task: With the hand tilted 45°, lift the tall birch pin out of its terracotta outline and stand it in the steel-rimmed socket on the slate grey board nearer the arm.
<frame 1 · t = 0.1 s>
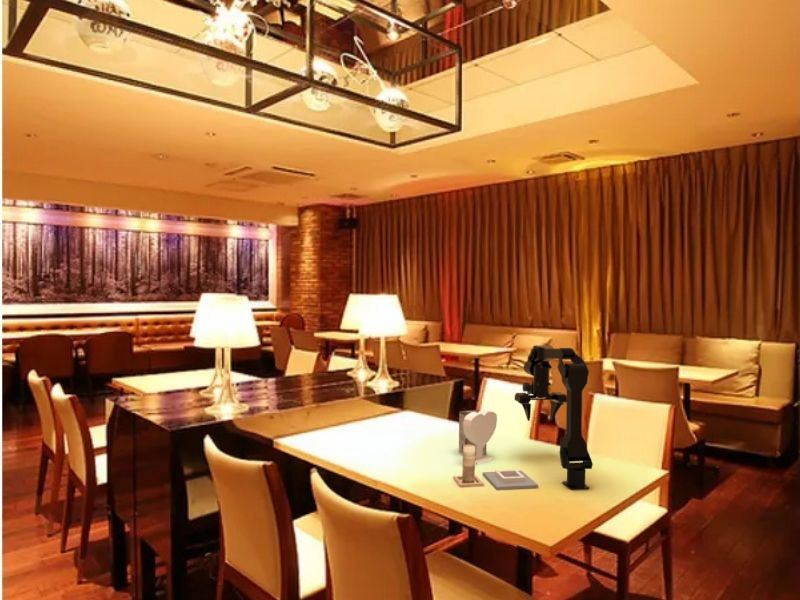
hand: (540, 420, 215), 15 cm above the table, tool pointing down, fingers open, 9 cm apart
coffee box: (472, 453, 221), on the table
layout board: (509, 481, 191), on the table
birch pin: (468, 482, 189), resting in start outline
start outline: (468, 482, 189), on the table
heart sculpture: (479, 460, 213), on the table
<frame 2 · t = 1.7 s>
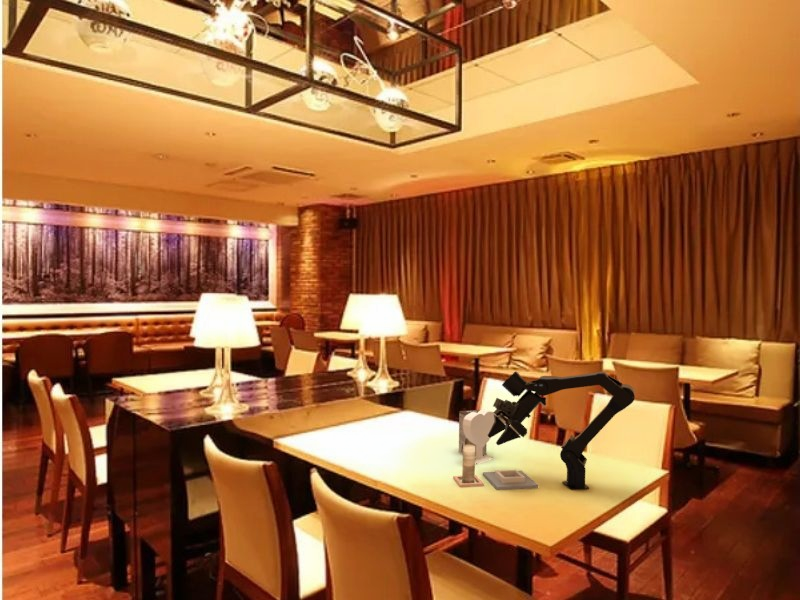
hand: (492, 440, 191), 13 cm above the table, tool tilted 45°, fingers open, 9 cm apart
nothing on the table moved.
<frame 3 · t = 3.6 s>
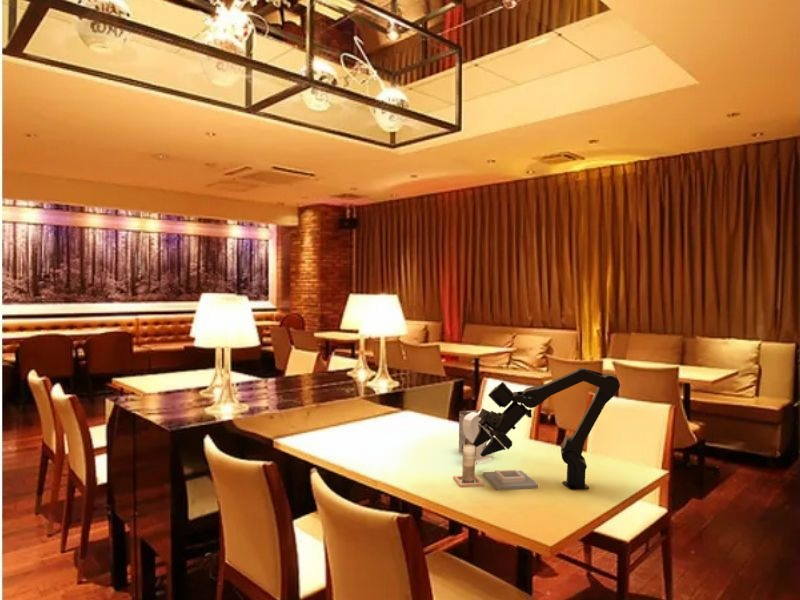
hand: (476, 451, 190), 10 cm above the table, tool tilted 45°, fingers open, 9 cm apart
nothing on the table moved.
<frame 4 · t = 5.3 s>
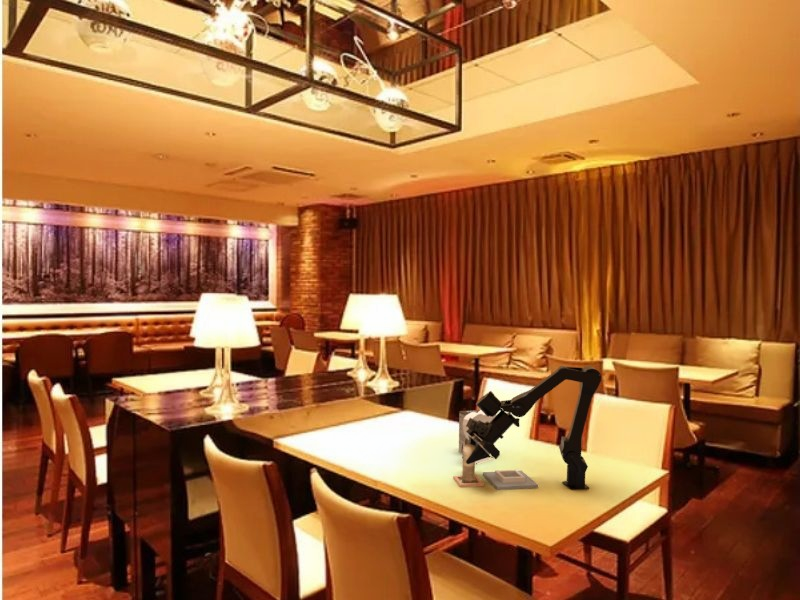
hand: (464, 461, 189), 7 cm above the table, tool tilted 45°, fingers closed on birch pin, 4 cm apart
birch pin: (468, 482, 189), resting in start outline, touching gripper
everything else where it was.
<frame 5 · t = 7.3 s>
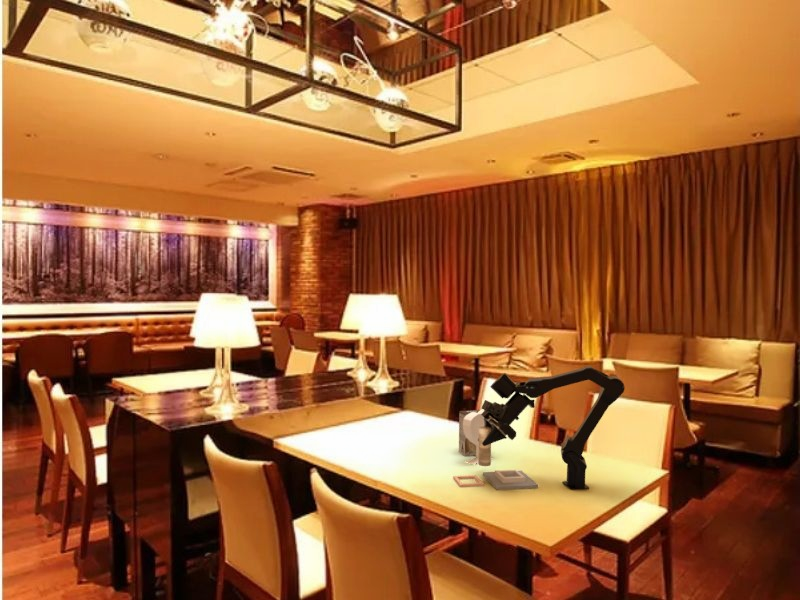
hand: (480, 443, 189), 13 cm above the table, tool tilted 45°, fingers closed on birch pin, 4 cm apart
birch pin: (484, 464, 189), point 6 cm above the table, touching gripper
everything else where it was.
when the fingers open (10 cm above the table, at t = 9.2 s): birch pin drops 2 cm, resting on layout board.
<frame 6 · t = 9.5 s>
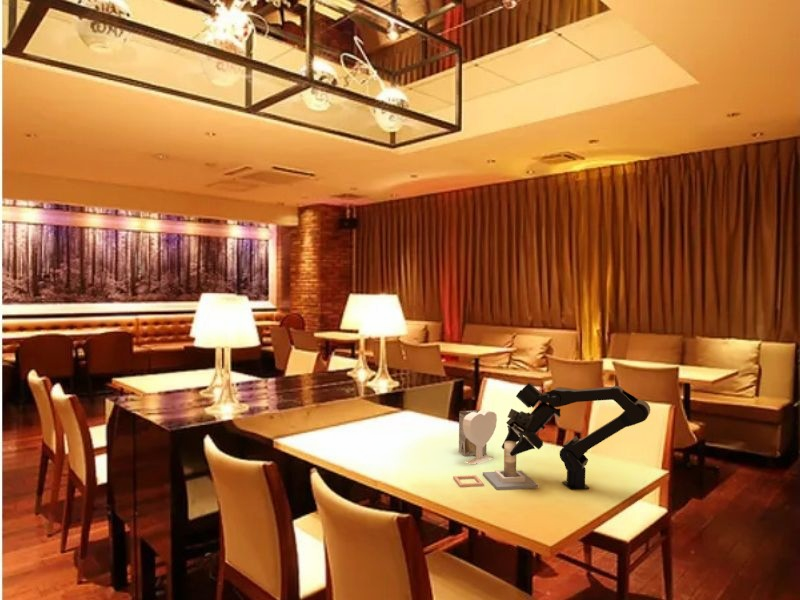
hand: (506, 451, 190), 10 cm above the table, tool tilted 45°, fingers open, 7 cm apart
birch pin: (510, 478, 191), point 1 cm above the table, touching layout board
everything else where it was.
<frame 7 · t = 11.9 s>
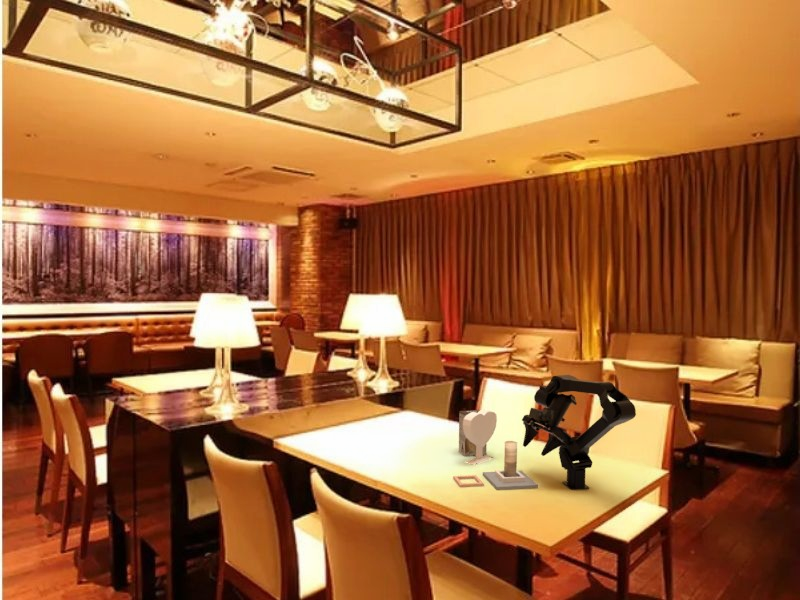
hand: (532, 450, 190), 11 cm above the table, tool tilted 35°, fingers open, 9 cm apart
nothing on the table moved.
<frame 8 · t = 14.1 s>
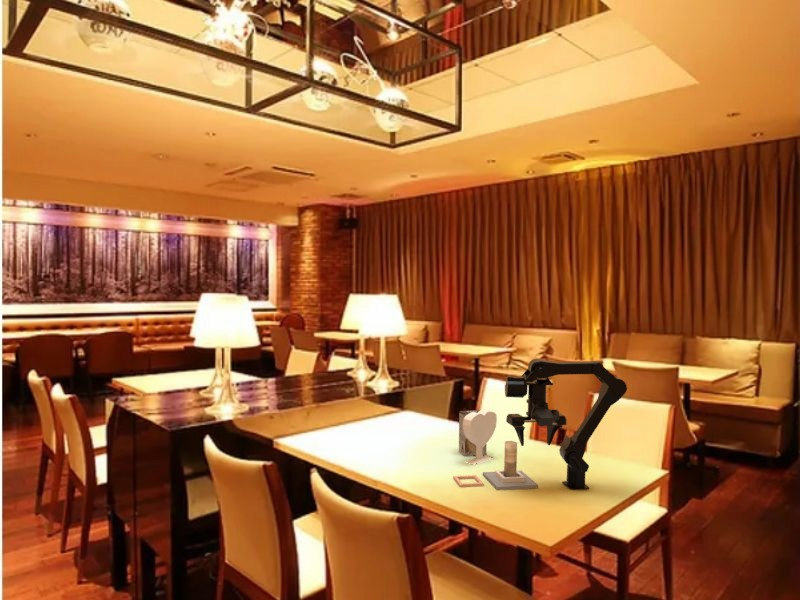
hand: (535, 445, 188), 13 cm above the table, tool pointing down, fingers open, 9 cm apart
nothing on the table moved.
at the end: birch pin 0.1 cm off-centre on the layout board, point 1.0 cm above the layout board's base; birch pin tilted 0°; the gripper is holding nothing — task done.
